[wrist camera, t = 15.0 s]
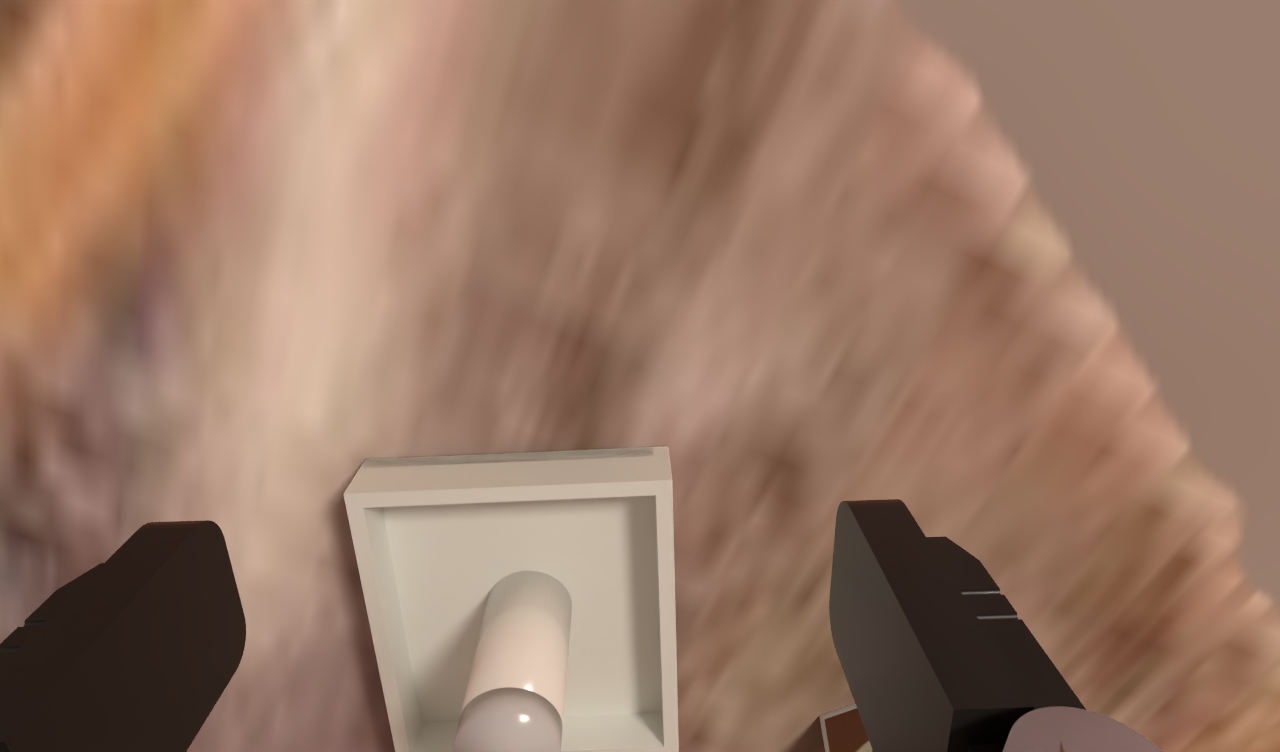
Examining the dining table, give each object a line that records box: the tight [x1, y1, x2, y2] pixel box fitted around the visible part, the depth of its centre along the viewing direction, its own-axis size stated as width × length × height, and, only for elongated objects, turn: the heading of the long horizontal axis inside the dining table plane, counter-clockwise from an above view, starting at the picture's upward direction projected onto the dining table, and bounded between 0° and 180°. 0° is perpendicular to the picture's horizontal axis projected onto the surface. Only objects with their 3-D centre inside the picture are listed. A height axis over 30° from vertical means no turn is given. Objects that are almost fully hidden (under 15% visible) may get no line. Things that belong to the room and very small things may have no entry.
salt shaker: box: [452, 571, 572, 752], centre depth 39 cm, size 5×5×10 cm
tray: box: [343, 446, 679, 752], centre depth 43 cm, size 16×18×4 cm
